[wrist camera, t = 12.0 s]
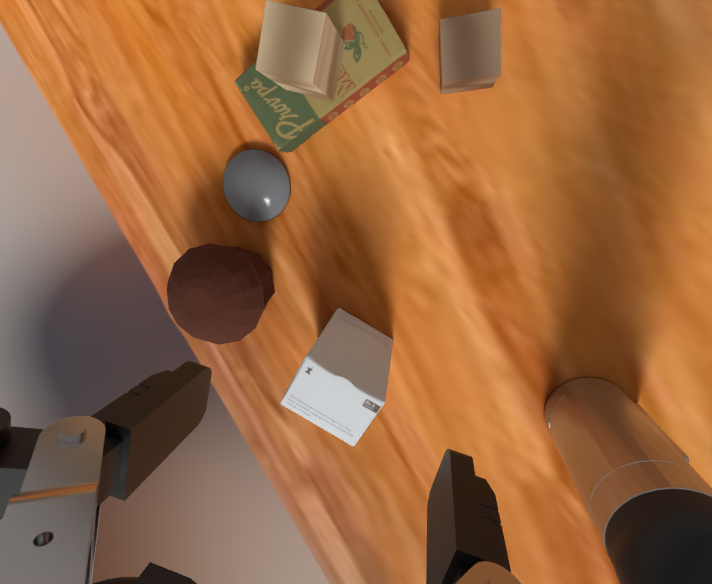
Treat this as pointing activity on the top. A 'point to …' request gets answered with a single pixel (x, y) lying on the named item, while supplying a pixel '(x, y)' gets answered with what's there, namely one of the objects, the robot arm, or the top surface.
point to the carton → (356, 77)
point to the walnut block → (470, 51)
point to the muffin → (219, 292)
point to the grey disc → (256, 185)
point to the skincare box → (342, 378)
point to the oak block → (300, 50)
